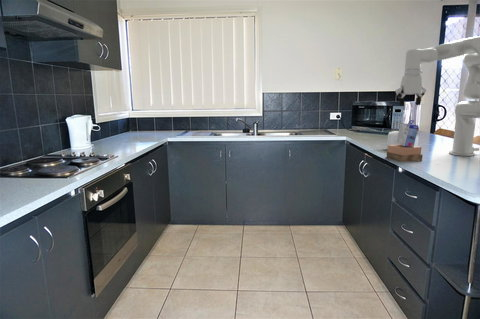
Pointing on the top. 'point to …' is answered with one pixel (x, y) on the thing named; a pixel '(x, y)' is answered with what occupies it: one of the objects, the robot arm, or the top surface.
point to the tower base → (404, 157)
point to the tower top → (404, 150)
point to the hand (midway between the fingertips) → (409, 105)
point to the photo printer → (392, 138)
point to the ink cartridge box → (407, 134)
